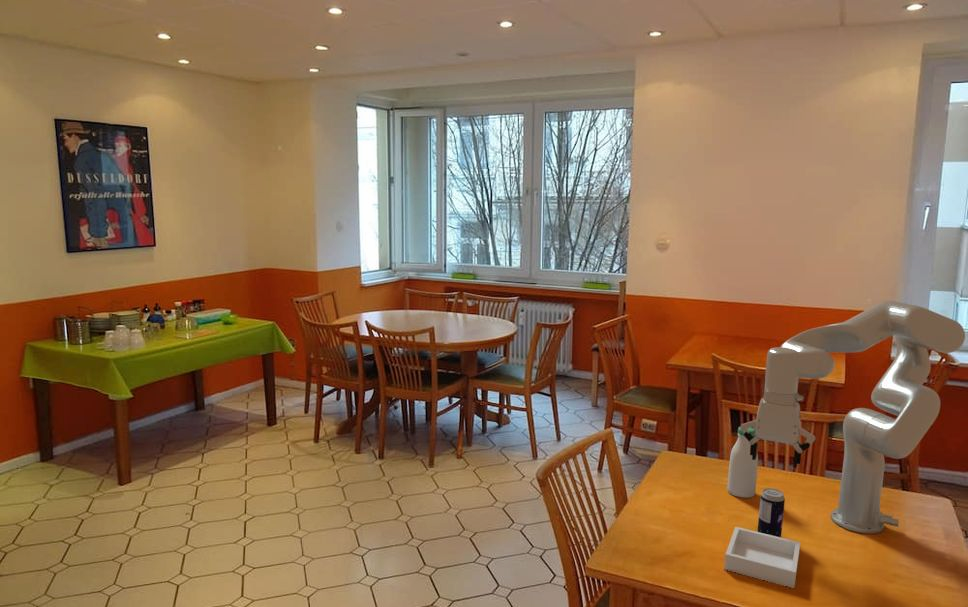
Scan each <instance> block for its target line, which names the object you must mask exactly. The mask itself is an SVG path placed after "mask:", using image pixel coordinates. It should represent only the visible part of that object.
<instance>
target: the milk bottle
mask: <svg viewBox="0 0 968 607" xmlns="http://www.w3.org/2000/svg"><path fill="white" fill-rule="evenodd" d="M748 431H749V432H750V433H751V435H752V436H754V435H755V428H754V427H751V428H748ZM750 447H751V444H750V443H749V441H748V440H747V439H746V438H745V436H744V434H743V432H742V430H741V427H740V426H738V429H737V440H736V442H735V444H734V445H733V447H732V448H731V451H730V458H729V465H728V476H727V491H728V493H729V494H731V495H732V496H734V497H736V498H737V497H738V498H742V499H748V498H753V497H755V495H756V489H757V488H756V487H757V478H758V477H757V476H758V466H759V454H758V452H757V456H756V459H755V460H752V455H750Z"/></svg>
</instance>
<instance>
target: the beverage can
mask: <svg viewBox="0 0 968 607" xmlns="http://www.w3.org/2000/svg"><path fill="white" fill-rule="evenodd" d="M785 501H786V499H785V497H784V493H783V492H782V491H780V490H779V489H776V488H768V487H767V488H764V489H763V490H762V492H761V494H760V500H759V512H758V519H757V520H758V522H757V532H760V533H764V534H768V535H772V536H776V537H780V538H782V531H783V530H782V529H783V524H784V523H783V522H784V512H785V511H784V510H785V504H786V503H785Z"/></svg>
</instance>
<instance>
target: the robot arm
mask: <svg viewBox="0 0 968 607" xmlns="http://www.w3.org/2000/svg"><path fill="white" fill-rule="evenodd" d="M892 336H893V337H895V342H896V354H895V356H894V357H895V358H894V359H893V361H892V362H891V364H890V366H889V367H888V368H887V369H886V371H885V372H884V374H883V375H882V377H881V378H880V380H879V381H878V382H877V383H876V385H875V387H873V390H872V392H871V397H870V399H871V402H872V404H873V405H874V406H875V407H877V408H878V409H880V410H882V411H884V412H887V413H888V414H891V415H894V416H897V417H896V418H894V417H891V416H890V415H886V414H884V413H881V412H879V411H875V410H873V409H871V408H865V407H858V408H854V409H851V410H850V411H848V412H847V414H846V415H845V417H844V420H843V426H842V429H843V430H842V431H843V439H844V440H843V441H844V442H843V443H844V454H843V462H842V471H841V472H842V473H841V481H840V488H839V497H838V505H837V506H838V507H837V508H835V509H833V510H831V512H830V518H831V520H832V522H834V523H835V524H836V525H838V526H840V527H842V528H844V529H846V530H849V531H853V532H854V533H855V532H856V533H860V534H878V533H880V532H883V530H884V528H885V525H889V526H892V527H899V520H900V519H898V518H895V517H894V516H893V514H885V513H883V512H882V511H881V507H880V506H881V498H882V489H883V482H884V472H885V466H886V464H885V457H884V456H886V457H889V458H891V459H895V460H896V459H897V460H898V459H903V458H906V457H907V456H909V455H910V454H911V453H912V452H913V451H914V450H915V449H916V447H917V446H918V444H919V443H920V442H921V440H922V439H923V437H924V436H925V435H926V434H927V432H928V430H929V429H930V428H931V426H932V425H933V424H934V422H935V421H936V419H937V417H938V415H939V413H940V411H941V410H940V409H941V399H940V396H939V394H938V393H937V392H936V391H935V390H934V389H932V388H931V387H928V386H925V385H923V384H924V383H925V381H926V380H927V378H928V376H929V374H930V373H931V366H932V365H931V360H930V356H929V352H928V350H930V351H935V352H939V353H944V354H950V353H953V352H956V351H958V350H960V348H961V347H962V346H963V345H964V343H965V340H966V332H965V329H964V328H963V326H962V324H961V323H959V321H957V320H955V319H952V318H950V317H947V316H945V315H942V314H939V313H937V312H936V311H933V310H930V309H927V308H925V307H922V306H919V305H915V304H910V303H906V302H905V303H904V302H899V301H893V300H887V301H882V302H879V303H877V304H876V305H873V306H872V307H871V306H870V307H869V308H868V309H866V310H864V311H862V312H860V313H859V314H857V315H856V314H855V316H852V317H851V318H849V319H847V320H845V321H842V322H837V323H833V324H828V325H823V326H819V327H814V328H810V329H807V330H805V331H802V332H800V333H797V334H796V335H794V336H792V337H790V338H789V339H787V340H786V341H784V342H783V343H782V344H781V345H780V347H779V346H777V347H772V348H770V349H769V350H767V354H766V363H765V364H766V365H765V366H766V367H765V377H764V388H763V397H761V399H760V401H759V404H758V408H757V413H756V419H754V420H751V421H748V422H745V423H741V424H740V426H739V427H741V430H742V432H743V434H744V436H745V438H746V439H747V440H748V441H749V443H750V444H751V447H750V455H752V460H755V459H756V456H757V453H758V444H759V443H758V442H759V441H760V440H763V441H768V442H774V443H778V444H786V445H792V447H793V448H794V454H793V455H794V456H793V468H794V469H797V466H798V465H801V461H802V460H801V458H802V453H803V452H804V451H806V450H808V449H810V446H812V444H813V443H814V442H815V440H816V436H815V435H814V434H812V433H811V432H809V431H808V430H806V429H804V428H803V427H801V418H802V417H801V407H800V406H801V405H800V403H799V402H803V401H804V395H801V394H799V393H798V389H799V388H798V386H799V379H800V378H801V379H809V380H811V379H812V380H820V379H823V378H826V377H828V376H829V375H831V374H832V372H833V371H834V369H835V360H834V357H833V356H832V355H831V354H830V353H845V354H847V353H860V352H861V353H862V352H864V351H866V350H868V349H870V348H871V347H873V346H875V345H876V344H880V342H882V341H884V340H887V339H888V338H889V337H892ZM748 428H754V429H755V435H754V436H752V435H751V433H750V432H749V431H748ZM800 435H801V436H803V437H804V438H806V441H804V442H802V443H801V442H800V440H799V439H800Z"/></svg>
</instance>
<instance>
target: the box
mask: <svg viewBox="0 0 968 607" xmlns="http://www.w3.org/2000/svg"><path fill="white" fill-rule="evenodd" d="M800 549H801V541H797V540H792V539H788V538H784V537H776V536H772V535H768V534H764V533H760V532H758V531H757V530H756V531H754V530H751V529H746V528H743V527H738V526H735V527H734V529H733V532H732V535H731V538H730V541H729V544H728V546H727V548H726V552H725V558H724V571H727V570H728V572H730V571H732V572H731V573H734V572H736V573H735V574H738V573H739V575H741V574H742V576H745V575H746V577H749V576H750V578H752V577H754V578H753V579H756V578H757V579H758V580H761V581H763V580H765V582H767V581H768V583H771V582H772V583H771V584H774V583H776V584H775V585H778V584H780V585H779V586H782V585H784V586H783V587H785V586H788V587H787V588H789V587H791V588H790V589H793V588H794V589H795V586H796V579H797V573H798V565H799V559H800V558H799V557H800V551H801V550H800Z"/></svg>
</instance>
